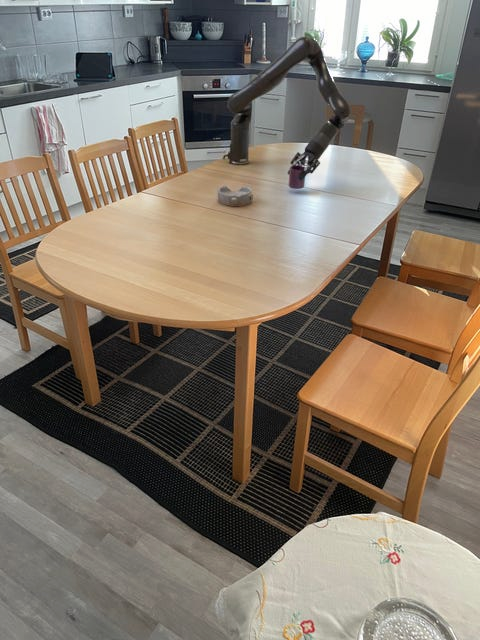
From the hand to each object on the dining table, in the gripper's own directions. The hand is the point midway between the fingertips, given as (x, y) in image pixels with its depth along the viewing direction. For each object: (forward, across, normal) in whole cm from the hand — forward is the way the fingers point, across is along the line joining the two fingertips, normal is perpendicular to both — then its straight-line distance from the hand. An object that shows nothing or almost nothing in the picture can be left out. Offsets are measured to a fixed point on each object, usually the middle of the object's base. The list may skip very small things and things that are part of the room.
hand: (294, 176), depth 212 cm
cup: (+2, 0, +4) cm, 5 cm away
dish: (+25, -3, -15) cm, 29 cm away
